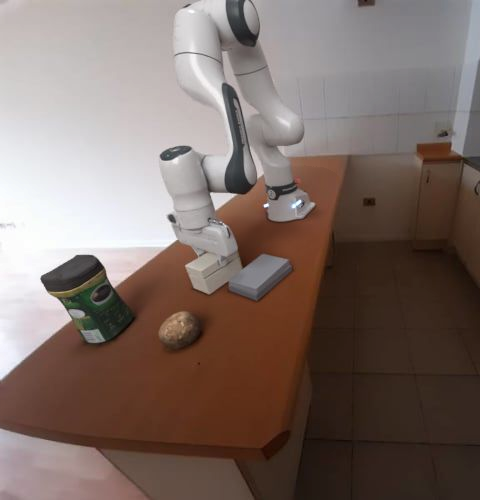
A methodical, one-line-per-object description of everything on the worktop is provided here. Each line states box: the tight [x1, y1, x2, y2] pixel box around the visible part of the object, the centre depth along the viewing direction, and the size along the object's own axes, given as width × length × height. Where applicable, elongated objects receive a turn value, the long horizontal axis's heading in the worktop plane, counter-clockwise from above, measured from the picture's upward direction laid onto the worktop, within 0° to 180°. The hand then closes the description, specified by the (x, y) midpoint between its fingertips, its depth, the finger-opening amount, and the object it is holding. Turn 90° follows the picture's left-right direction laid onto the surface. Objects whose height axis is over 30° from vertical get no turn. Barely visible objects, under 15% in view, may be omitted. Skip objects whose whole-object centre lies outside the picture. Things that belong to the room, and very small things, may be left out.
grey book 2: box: [227, 264, 293, 302], centre depth 77 cm, size 15×10×2 cm, turn 151°
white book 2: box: [190, 263, 244, 295], centre depth 79 cm, size 12×6×2 cm, turn 151°
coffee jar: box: [40, 254, 134, 344], centre depth 60 cm, size 10×8×19 cm
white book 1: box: [187, 255, 242, 287], centre depth 78 cm, size 12×6×2 cm, turn 151°
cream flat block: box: [184, 250, 240, 279], centre depth 76 cm, size 12×6×2 cm, turn 151°
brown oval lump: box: [157, 310, 202, 350], centre depth 60 cm, size 8×8×6 cm
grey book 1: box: [227, 253, 291, 294], centre depth 76 cm, size 14×10×2 cm, turn 154°
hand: (212, 261), depth 77 cm, fingers closed on cream flat block, 6 cm apart
